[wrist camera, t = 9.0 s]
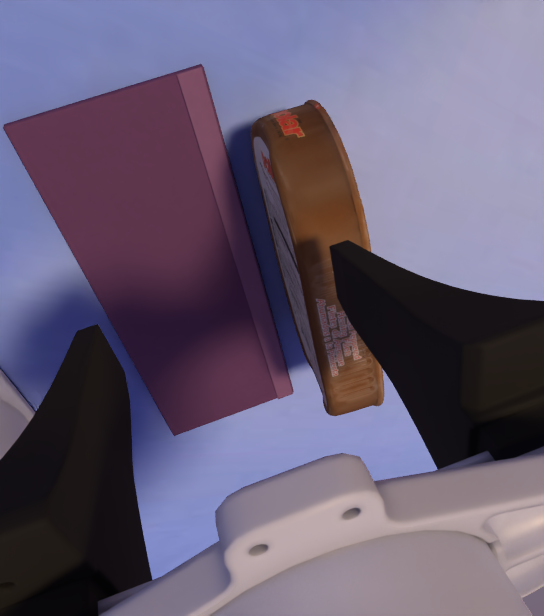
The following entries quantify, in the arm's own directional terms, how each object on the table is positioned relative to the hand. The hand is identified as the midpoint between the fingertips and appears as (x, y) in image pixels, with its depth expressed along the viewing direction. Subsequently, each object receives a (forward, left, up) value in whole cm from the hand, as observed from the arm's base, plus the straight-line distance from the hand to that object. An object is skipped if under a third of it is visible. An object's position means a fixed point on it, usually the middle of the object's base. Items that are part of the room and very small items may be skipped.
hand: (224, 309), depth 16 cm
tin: (+4, -5, -10) cm, 12 cm away
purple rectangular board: (-2, -6, -10) cm, 12 cm away
